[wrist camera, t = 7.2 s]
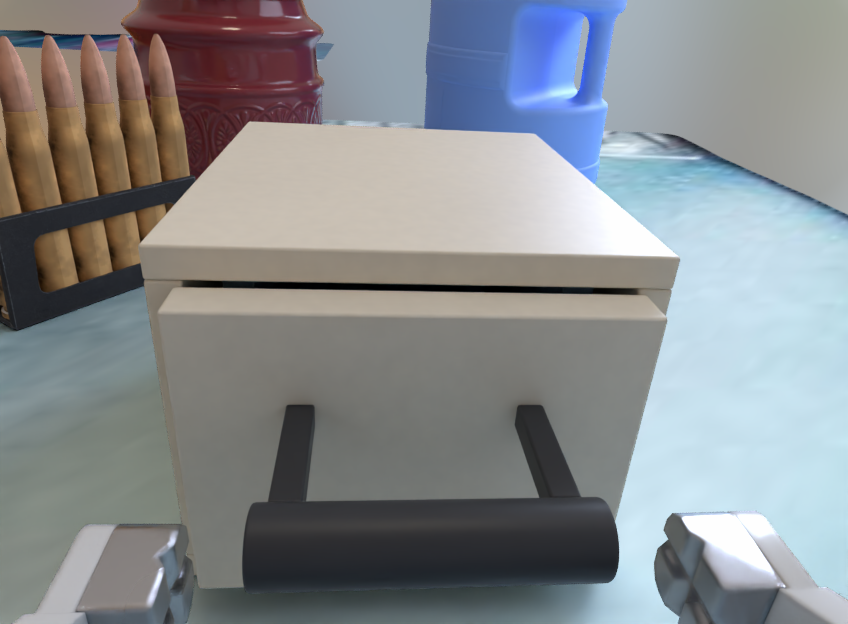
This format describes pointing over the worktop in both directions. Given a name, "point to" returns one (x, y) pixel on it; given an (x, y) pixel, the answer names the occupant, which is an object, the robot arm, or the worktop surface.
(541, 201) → the small drawer cabinet
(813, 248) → the worktop surface
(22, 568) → the worktop surface
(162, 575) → the robot arm
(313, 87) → the kitchen canister
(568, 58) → the water jug
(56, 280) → the ammunition clip
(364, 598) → the worktop surface
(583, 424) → the cabinet drawer
